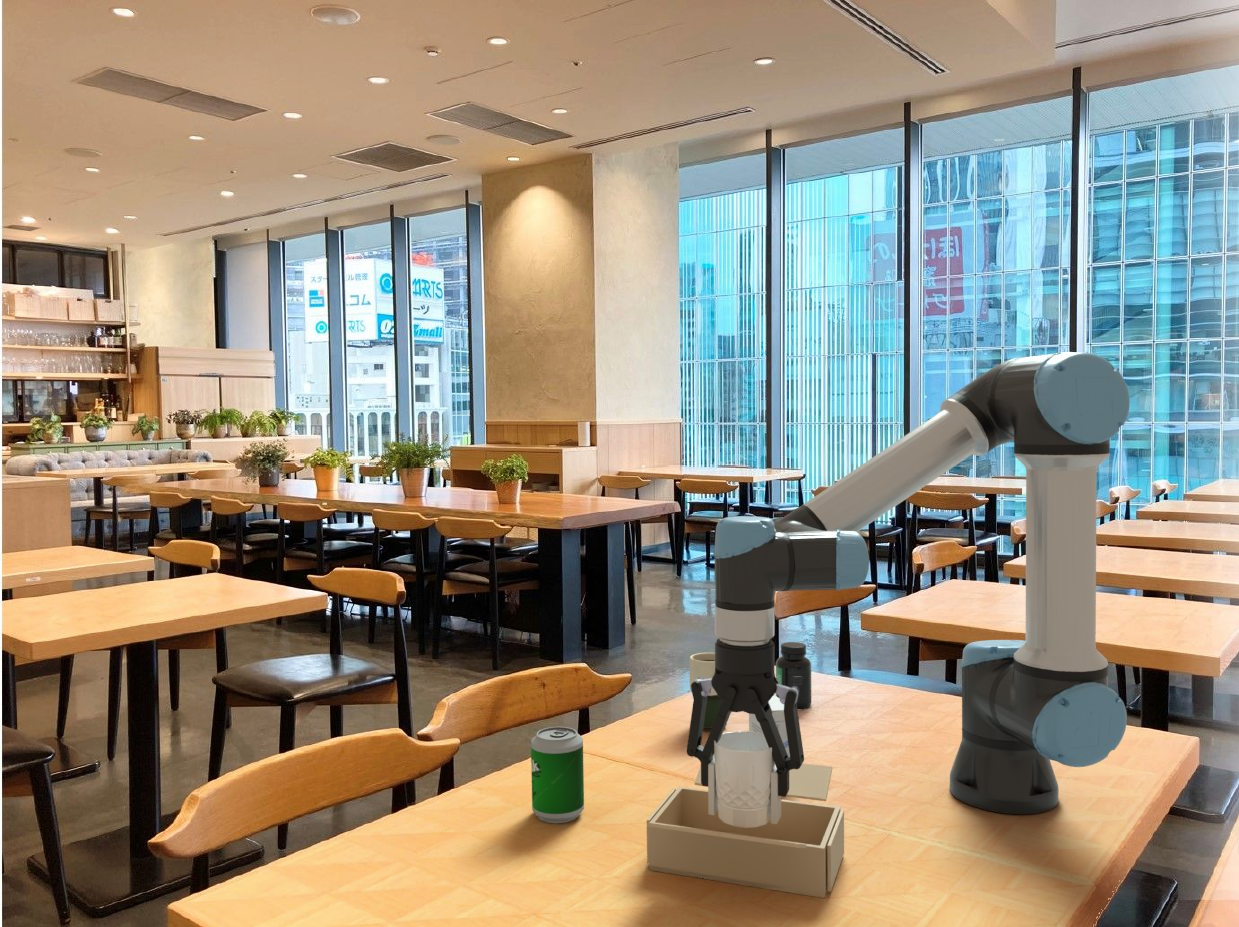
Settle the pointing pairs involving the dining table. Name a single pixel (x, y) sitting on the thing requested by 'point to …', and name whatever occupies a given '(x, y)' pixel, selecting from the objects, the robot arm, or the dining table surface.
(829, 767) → the flap far
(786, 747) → the ink box
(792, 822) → the carton
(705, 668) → the character mug
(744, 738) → the white cup
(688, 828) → the flap near
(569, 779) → the soda can
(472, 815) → the dining table surface
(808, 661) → the supplement bottle
